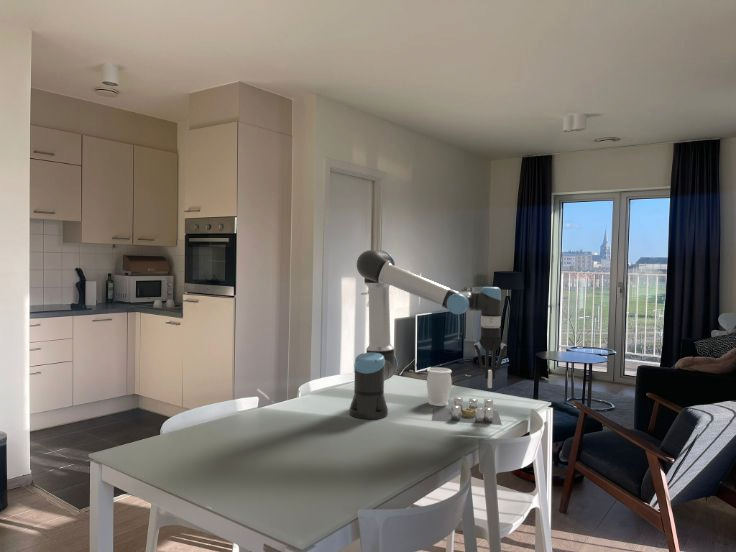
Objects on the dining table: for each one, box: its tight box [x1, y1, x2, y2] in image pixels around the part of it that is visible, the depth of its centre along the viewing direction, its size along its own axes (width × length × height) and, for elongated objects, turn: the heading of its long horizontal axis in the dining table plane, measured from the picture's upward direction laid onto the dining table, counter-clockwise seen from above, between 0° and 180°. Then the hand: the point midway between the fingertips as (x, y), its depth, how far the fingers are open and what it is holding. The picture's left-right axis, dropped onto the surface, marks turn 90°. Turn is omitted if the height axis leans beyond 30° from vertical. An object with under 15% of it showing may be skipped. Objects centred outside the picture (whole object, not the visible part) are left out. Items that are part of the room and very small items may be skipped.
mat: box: [431, 406, 503, 426], centre depth 224 cm, size 26×19×1 cm
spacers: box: [450, 396, 494, 424], centre depth 223 cm, size 17×19×5 cm
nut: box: [462, 407, 475, 418], centre depth 223 cm, size 4×5×2 cm
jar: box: [426, 367, 453, 407], centre depth 242 cm, size 11×10×15 cm
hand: (489, 387), depth 222 cm, fingers closed
